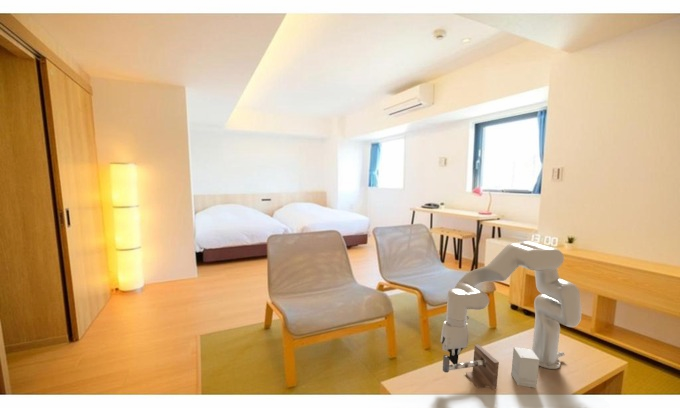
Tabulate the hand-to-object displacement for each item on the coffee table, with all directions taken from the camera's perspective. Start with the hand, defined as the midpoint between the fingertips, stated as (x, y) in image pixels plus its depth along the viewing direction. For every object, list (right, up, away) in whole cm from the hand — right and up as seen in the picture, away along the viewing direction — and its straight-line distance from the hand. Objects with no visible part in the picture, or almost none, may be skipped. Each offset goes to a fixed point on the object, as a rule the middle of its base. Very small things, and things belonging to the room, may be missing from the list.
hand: (453, 362), depth 120 cm
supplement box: (+31, -10, +4) cm, 33 cm away
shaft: (+5, -3, +2) cm, 6 cm away
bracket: (+12, -10, +4) cm, 16 cm away
